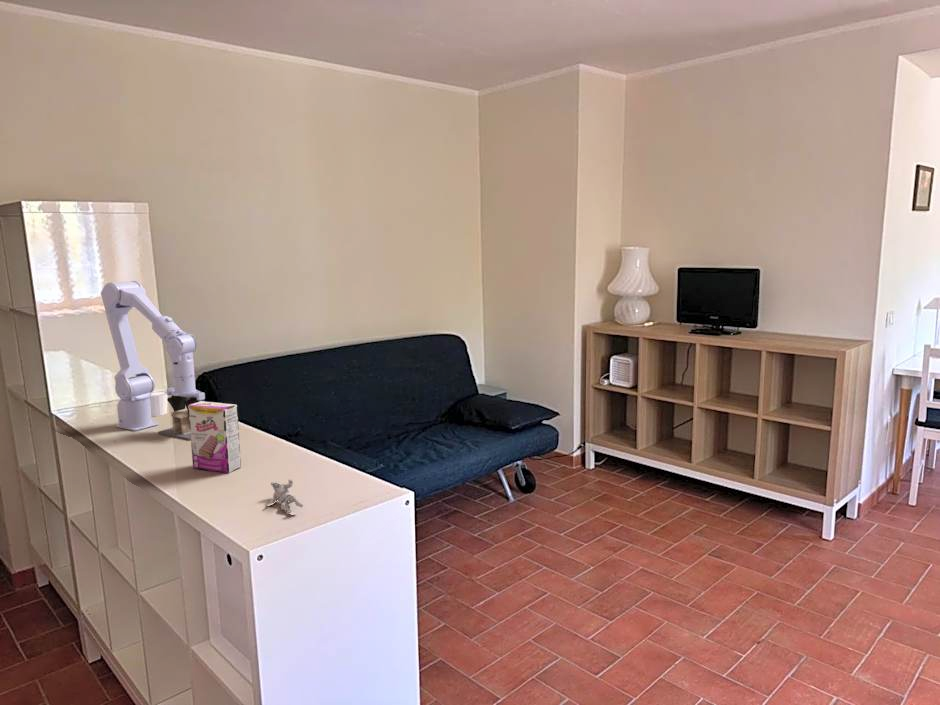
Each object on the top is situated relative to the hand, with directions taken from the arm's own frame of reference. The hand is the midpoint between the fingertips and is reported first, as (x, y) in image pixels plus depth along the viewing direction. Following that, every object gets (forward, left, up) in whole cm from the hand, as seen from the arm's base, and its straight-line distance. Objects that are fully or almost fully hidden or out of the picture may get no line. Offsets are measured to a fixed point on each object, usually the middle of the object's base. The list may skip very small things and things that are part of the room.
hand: (187, 421), depth 191 cm
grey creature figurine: (+65, -26, -4) cm, 70 cm away
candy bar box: (+33, -17, -4) cm, 37 cm away
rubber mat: (0, 0, -3) cm, 3 cm away
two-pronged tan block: (0, 0, -3) cm, 3 cm away
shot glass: (-27, +9, -4) cm, 29 cm away
